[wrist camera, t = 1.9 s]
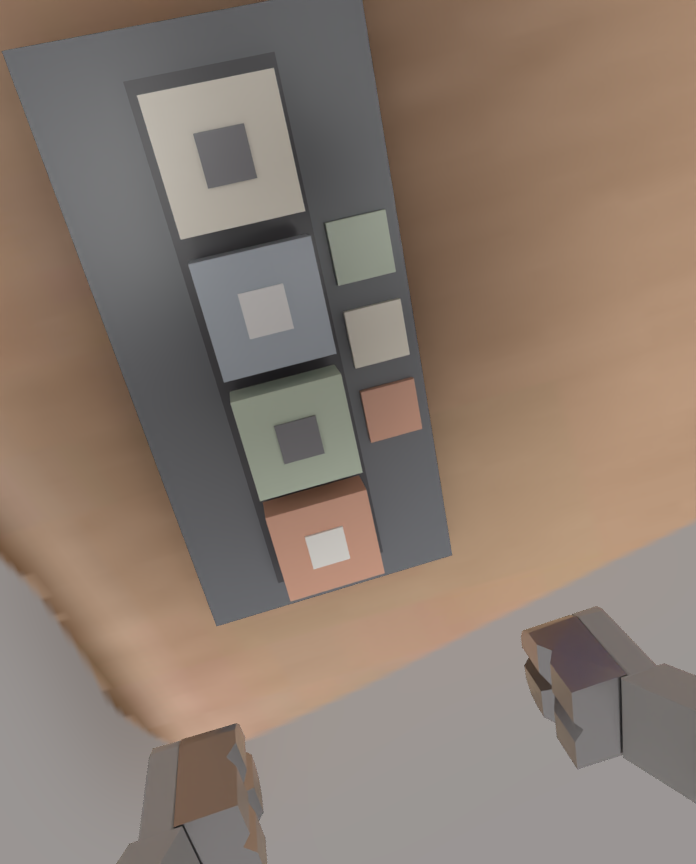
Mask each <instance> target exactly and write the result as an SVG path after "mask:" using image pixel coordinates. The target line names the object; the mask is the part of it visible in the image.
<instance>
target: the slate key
mask: <svg viewBox="0 0 696 864" xmlns="http://www.w3.org/2000/svg"><path fill="white" fill-rule="evenodd" d="M188 266H189V269H190V272H191V276H192V279H193V282H194V285H195V289H196V292H197V295H198V299H199V302H200V305H201V308H202V312H203V315H204V318H205V322H206V325H207V328H208V331H209V335H210V338H211V341H212V345H213V348H214V351H215V354H216V358H217V361H218V364H219V368H220V371H221V374H222V378H223V381H224V382H228V381H232V380H236V379H240V378H244V377H248V376H252V375H255V374H259V373H263V372H267V371H271V370H275V369H279V368H283V367H287V366H290V365H294V364H298V363H302V362H306V361H310V360H314V359H318V358H321V357H325V356H329V355H333V354H337V353H336V348H335V344H334V339H333V335H332V330H331V326H330V321H329V317H328V312H327V307H326V303H325V298H324V294H323V289H322V285H321V280H320V276H319V271H318V266H317V262H316V257H315V253H314V248H313V244H312V239H311V236H310V235H307V234H302V235H298V236H293V237H289V238H285V239H280V240H276V241H272V242H268V243H263V244H259V245H255V246H250V247H246V248H242V249H238V250H233V251H229V252H225V253H220V254H216V255H212V256H208V257H203V258H199V259H195V260H191V261H190V262H189V264H188Z"/></svg>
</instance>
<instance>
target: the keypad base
mask: <svg viewBox="0 0 696 864" xmlns="http://www.w3.org/2000/svg"><path fill="white" fill-rule="evenodd" d="M2 53H3V56H4V59H5V61H6V64H7V67H8V69H9V72H10V75H11V77H12V80H13V83H14V85H15V88H16V91H17V93H18V96H19V99H20V101H21V104H22V107H23V109H24V112H25V115H26V117H27V120H28V123H29V125H30V128H31V131H32V133H33V136H34V139H35V141H36V144H37V147H38V150H39V152H40V155H41V158H42V160H43V163H44V166H45V168H46V171H47V174H48V176H49V179H50V182H51V184H52V187H53V190H54V192H55V195H56V198H57V200H58V203H59V206H60V208H61V211H62V214H63V216H64V219H65V222H66V224H67V227H68V230H69V232H70V235H71V238H72V240H73V243H74V246H75V249H76V251H77V254H78V257H79V259H80V262H81V265H82V267H83V270H84V273H85V275H86V278H87V281H88V283H89V286H90V289H91V291H92V294H93V297H94V299H95V302H96V305H97V307H98V310H99V313H100V315H101V318H102V321H103V323H104V326H105V329H106V331H107V334H108V337H109V340H110V342H111V345H112V348H113V350H114V353H115V356H116V358H117V361H118V364H119V366H120V369H121V372H122V374H123V377H124V380H125V382H126V385H127V388H128V390H129V393H130V396H131V398H132V401H133V404H134V406H135V409H136V412H137V414H138V417H139V420H140V422H141V425H142V428H143V431H144V433H145V436H146V439H147V441H148V444H149V447H150V449H151V452H152V455H153V457H154V460H155V463H156V465H157V468H158V471H159V473H160V476H161V479H162V481H163V484H164V487H165V489H166V492H167V495H168V497H169V500H170V503H171V505H172V508H173V511H174V513H175V516H176V519H177V521H178V524H179V527H180V530H181V532H182V535H183V538H184V540H185V543H186V546H187V548H188V551H189V554H190V556H191V559H192V562H193V564H194V567H195V570H196V572H197V575H198V578H199V580H200V583H201V586H202V588H203V591H204V594H205V596H206V599H207V602H208V604H209V607H210V610H211V612H212V615H213V618H214V621H215V623H216V626H219V625H223V624H226V623H229V622H233V621H236V620H239V619H242V618H246V617H249V616H252V615H256V614H259V613H262V612H266V611H269V610H272V609H276V608H279V607H282V606H285V605H289V604H292V603H295V602H299V601H302V600H305V599H309V598H312V597H315V596H319V595H322V594H325V593H329V592H332V591H335V590H338V589H342V588H345V587H348V586H352V585H355V584H358V583H362V582H365V581H368V580H372V579H375V578H378V577H381V576H385V575H388V574H391V573H395V572H398V571H401V570H405V569H408V568H411V567H415V566H418V565H421V564H424V563H428V562H431V561H434V560H438V559H441V558H444V557H448V556H451V555H452V551H451V545H450V539H449V533H448V527H447V521H446V514H445V508H444V502H443V496H442V490H441V484H440V477H439V471H438V465H437V459H436V453H435V447H434V440H433V434H432V428H431V422H430V416H429V409H428V403H427V397H426V391H425V385H424V379H423V372H422V366H421V360H420V354H419V348H418V342H417V335H416V329H415V323H414V317H413V311H412V304H411V298H410V292H409V286H408V280H407V274H406V267H405V261H404V255H403V249H402V243H401V237H400V230H399V224H398V218H397V212H396V206H395V200H394V193H393V187H392V181H391V175H390V169H389V162H388V156H387V150H386V144H385V138H384V132H383V125H382V119H381V113H380V107H379V101H378V95H377V88H376V82H375V76H374V70H373V64H372V57H371V51H370V45H369V39H368V33H367V27H366V20H365V14H364V8H363V2H362V0H270V1H265V2H259V3H254V4H249V5H243V6H238V7H233V8H227V9H222V10H217V11H212V12H206V13H201V14H196V15H190V16H185V17H180V18H174V19H169V20H164V21H159V22H153V23H148V24H143V25H137V26H132V27H127V28H122V29H116V30H111V31H106V32H100V33H95V34H90V35H84V36H79V37H74V38H69V39H63V40H58V41H53V42H47V43H42V44H37V45H31V46H26V47H21V48H16V49H10V50H5V51H2ZM270 68H274V71H275V75H276V80H277V84H278V89H279V93H280V98H281V102H282V107H283V112H284V116H285V121H286V125H287V130H288V134H289V139H290V143H291V148H292V153H293V157H294V162H295V166H296V171H297V175H298V180H299V184H300V189H301V194H302V198H303V203H304V207H305V211H304V212H300V213H295V214H291V215H286V216H282V217H278V218H273V219H269V220H265V221H260V222H256V223H252V224H247V225H243V226H239V227H234V228H230V229H225V230H221V231H217V232H212V233H208V234H204V235H199V236H195V237H191V238H186V239H182V240H181V239H180V236H179V233H178V229H177V226H176V223H175V220H174V216H173V213H172V210H171V206H170V203H169V200H168V197H167V193H166V190H165V187H164V183H163V180H162V177H161V173H160V170H159V167H158V164H157V160H156V157H155V154H154V150H153V147H152V144H151V141H150V137H149V134H148V131H147V127H146V124H145V121H144V118H143V114H142V111H141V108H140V104H139V101H138V98H137V95H141V94H146V93H151V92H156V91H161V90H166V89H171V88H176V87H181V86H186V85H191V84H196V83H201V82H206V81H211V80H216V79H221V78H226V77H231V76H235V75H240V74H245V73H250V72H255V71H260V70H265V69H270ZM302 234H307V235H310V236H311V239H312V244H313V248H314V253H315V257H316V262H317V266H318V271H319V276H320V280H321V285H322V289H323V294H324V298H325V303H326V307H327V312H328V317H329V321H330V326H331V330H332V335H333V339H334V344H335V348H336V353H337V354H333V355H329V356H325V357H321V358H318V359H314V360H310V361H306V362H302V363H298V364H294V365H290V366H287V367H283V368H279V369H275V370H271V371H267V372H263V373H259V374H255V375H252V376H248V377H244V378H240V379H236V380H232V381H228V382H224V381H223V378H222V374H221V371H220V368H219V364H218V361H217V358H216V354H215V351H214V348H213V345H212V341H211V338H210V335H209V331H208V328H207V325H206V322H205V318H204V315H203V312H202V308H201V305H200V302H199V299H198V295H197V292H196V289H195V285H194V282H193V279H192V276H191V272H190V269H189V266H188V264H189V262H190V261H191V260H195V259H199V258H203V257H208V256H212V255H216V254H220V253H225V252H229V251H233V250H238V249H242V248H246V247H250V246H255V245H259V244H263V243H268V242H272V241H276V240H280V239H285V238H289V237H293V236H298V235H302ZM331 365H335V366H336V368H337V369H338V370H339V372H340V373H341V376H342V380H343V385H344V389H345V394H346V399H347V403H348V408H349V412H350V417H351V421H352V426H353V430H354V435H355V440H356V444H357V449H358V453H359V458H360V462H361V467H362V471H363V473H359V474H356V475H352V476H348V477H345V478H341V479H338V480H334V481H331V482H327V483H324V484H320V485H316V486H313V487H309V488H306V489H302V490H299V491H295V492H292V493H288V494H285V495H281V496H277V497H274V498H270V499H267V500H263V501H260V499H259V496H258V493H257V489H256V486H255V483H254V480H253V476H252V473H251V470H250V466H249V463H248V460H247V457H246V453H245V450H244V447H243V443H242V440H241V437H240V433H239V430H238V427H237V424H236V420H235V417H234V414H233V410H232V407H231V404H230V392H231V391H234V390H238V389H242V388H246V387H250V386H254V385H258V384H261V383H265V382H269V381H273V380H277V379H281V378H284V377H288V376H292V375H296V374H300V373H304V372H308V371H311V370H315V369H319V368H323V367H327V366H331ZM358 475H359V476H360V478H361V480H362V482H363V484H364V486H365V488H366V490H367V494H368V499H369V503H370V508H371V512H372V517H373V522H374V526H375V531H376V535H377V540H378V544H379V549H380V553H381V558H382V563H383V567H384V572H385V573H384V574H381V575H377V576H374V577H371V578H367V579H364V580H361V581H357V582H354V583H351V584H347V585H344V586H341V587H338V588H334V589H331V590H328V591H324V592H321V593H318V594H314V595H311V596H308V597H304V598H301V599H298V600H294V601H290V598H289V595H288V591H287V588H286V585H285V582H284V578H283V575H282V572H281V568H280V565H279V562H278V559H277V555H276V552H275V549H274V545H273V542H272V539H271V536H270V532H269V529H268V526H267V522H266V519H265V513H264V506H263V502H265V501H269V500H272V499H276V498H280V497H283V496H287V495H290V494H294V493H297V492H301V491H304V490H308V489H312V488H315V487H319V486H322V485H326V484H329V483H333V482H336V481H340V480H343V479H347V478H351V477H354V476H358Z"/></svg>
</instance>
